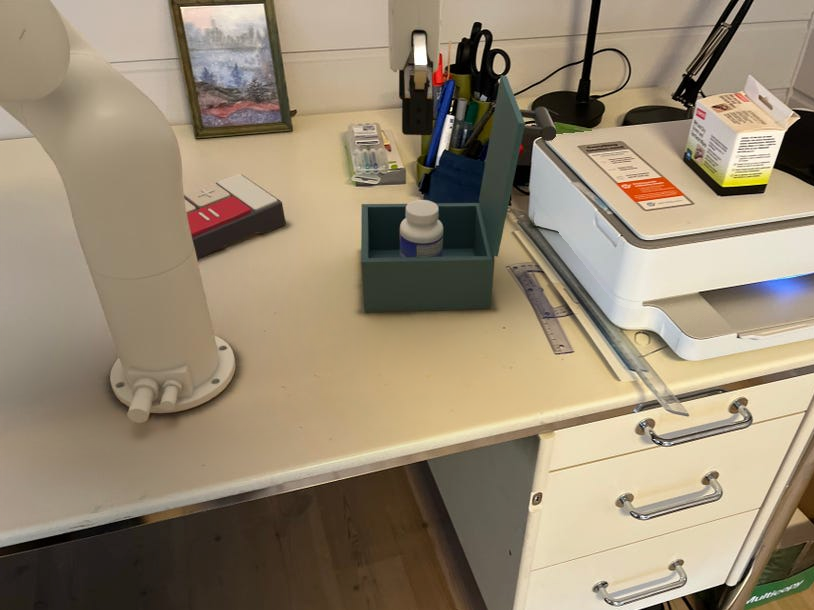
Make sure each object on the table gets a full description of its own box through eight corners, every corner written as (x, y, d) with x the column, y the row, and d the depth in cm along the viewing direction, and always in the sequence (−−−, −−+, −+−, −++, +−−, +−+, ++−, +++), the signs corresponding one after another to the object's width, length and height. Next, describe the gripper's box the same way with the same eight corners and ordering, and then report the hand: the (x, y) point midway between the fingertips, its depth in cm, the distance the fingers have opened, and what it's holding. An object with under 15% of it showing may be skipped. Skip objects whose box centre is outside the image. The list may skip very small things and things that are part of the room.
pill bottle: (394, 266, 98) (393, 199, 92) (433, 259, 100) (434, 193, 93) (408, 289, 94) (407, 221, 88) (448, 281, 96) (450, 214, 90)
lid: (518, 122, 78) (569, 128, 79) (500, 75, 88) (545, 80, 89) (492, 256, 88) (537, 259, 89) (478, 199, 98) (519, 203, 100)
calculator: (141, 205, 101) (239, 168, 108) (149, 232, 103) (245, 194, 111) (181, 238, 95) (282, 197, 103) (189, 266, 98) (287, 224, 106)
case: (364, 312, 91) (361, 261, 87) (364, 252, 102) (361, 203, 97) (490, 309, 93) (494, 259, 89) (478, 250, 104) (481, 202, 99)
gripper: (377, -79, 78) (379, 86, 89) (379, -39, 65) (381, 148, 76) (449, -74, 79) (442, 88, 90) (465, -35, 66) (455, 150, 77)
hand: (415, 115), depth 83 cm, fingers open, 9 cm apart
